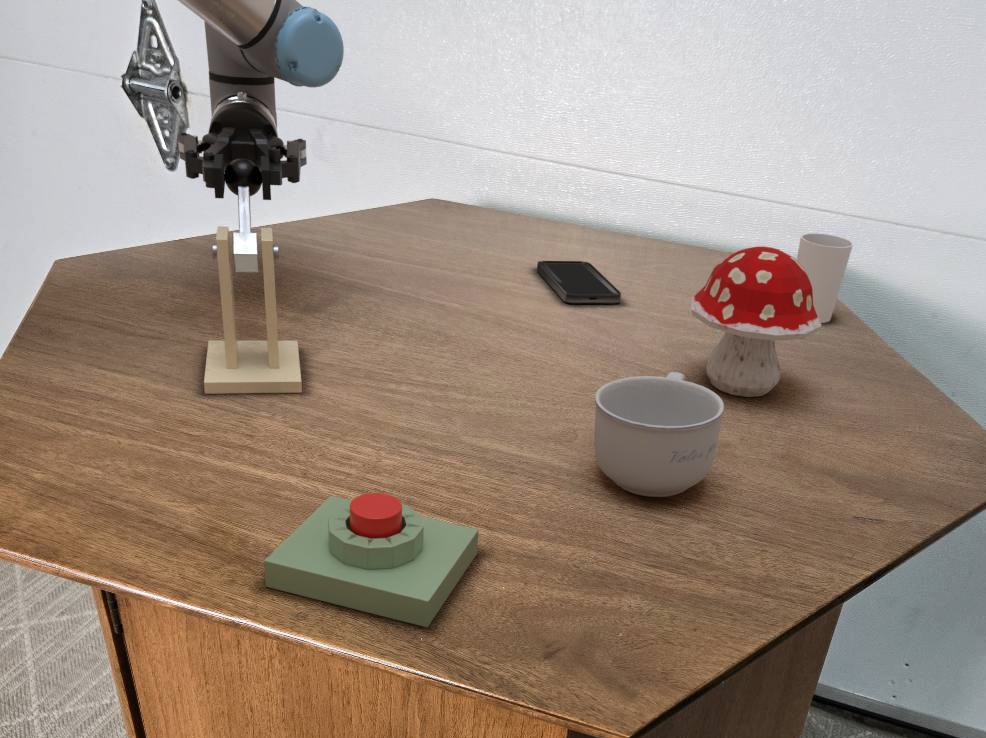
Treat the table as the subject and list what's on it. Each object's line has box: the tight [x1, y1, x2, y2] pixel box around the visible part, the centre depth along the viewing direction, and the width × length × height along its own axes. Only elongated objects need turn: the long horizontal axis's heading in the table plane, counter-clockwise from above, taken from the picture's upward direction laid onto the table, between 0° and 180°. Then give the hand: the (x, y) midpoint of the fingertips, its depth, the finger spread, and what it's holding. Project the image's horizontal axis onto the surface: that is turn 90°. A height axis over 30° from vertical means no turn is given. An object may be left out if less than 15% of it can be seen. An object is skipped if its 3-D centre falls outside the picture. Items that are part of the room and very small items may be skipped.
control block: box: [263, 495, 479, 628], centre depth 70 cm, size 12×10×4 cm
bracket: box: [203, 226, 303, 395], centre depth 95 cm, size 11×9×14 cm
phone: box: [536, 260, 622, 305], centre depth 133 cm, size 8×1×15 cm
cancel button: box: [350, 492, 403, 539], centre depth 68 cm, size 4×4×2 cm
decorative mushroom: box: [690, 246, 822, 398], centre depth 103 cm, size 14×14×15 cm
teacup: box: [593, 371, 725, 498], centre depth 85 cm, size 14×11×8 cm
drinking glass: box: [796, 232, 854, 324], centre depth 129 cm, size 7×7×10 cm
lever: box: [224, 159, 262, 273], centre depth 95 cm, size 13×4×4 cm, turn 14°
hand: (242, 184), depth 92 cm, fingers closed on lever, 4 cm apart
